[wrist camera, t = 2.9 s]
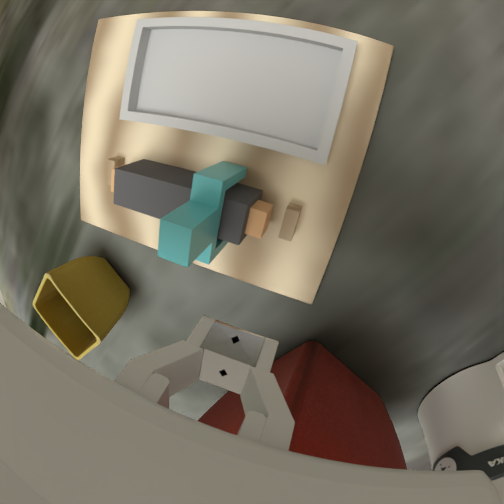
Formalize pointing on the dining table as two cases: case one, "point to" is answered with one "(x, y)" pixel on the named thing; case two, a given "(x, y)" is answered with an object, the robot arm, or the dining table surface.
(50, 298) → the flower pot
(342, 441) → the plant pot
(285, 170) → the board
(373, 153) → the dining table surface
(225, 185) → the teal stepped block
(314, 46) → the tray
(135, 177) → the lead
